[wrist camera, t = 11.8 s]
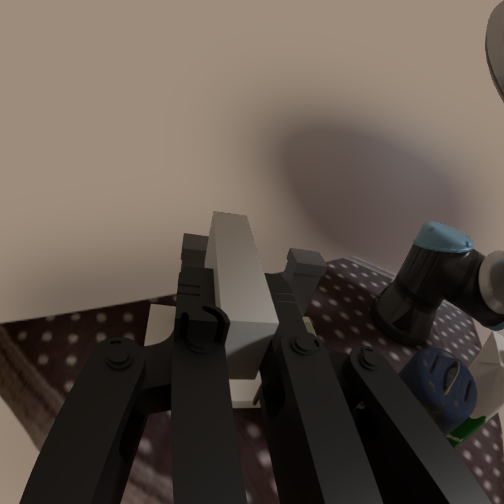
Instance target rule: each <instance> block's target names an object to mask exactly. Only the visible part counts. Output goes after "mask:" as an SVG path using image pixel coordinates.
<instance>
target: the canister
mask: <svg viewBox="0 0 504 504" xmlns="http://www.w3.org/2000/svg"><path fill="white" fill-rule="evenodd" d="M398 375H399V377H400V378H401V379H402V380H403V382H404V383H405V384H406V386H407V387H408V388H409V389H410V391H411V392H412V393H413V395H414V396H415V397H416V398H417V400H418V401H419V402H420V404H421V405H422V406H423V408H424V409H425V410H426V412H427V413H428V414H429V416H430V417H431V418H432V420H433V421H434V422H435V424H436V425H437V426H438V428H439V429H440V430H441V432H442V433H443V434H444V436H446V435H447V434H449V433H450V432H451V431H453V430H454V429H455V428H457V427H458V426H459V425H460V424H462V423H463V422H464V421H465V420H466V419H467V418H468V417H469V416H470V415H471V414H472V412H473V411H474V409H475V407H476V404H477V396H478V393H477V387H476V383H475V381H474V378H473V376H472V374H471V373H470V371H469V370H468V368H467V367H466V366H465V365H464V364H463V363H462V362H461V361H460V360H459V359H458V358H457V357H456V356H454V355H453V354H451V353H449V352H447V351H445V350H443V349H439V348H426V349H423V350H421V351H419V352H418V353H417V354H415V355H414V356H413V357H412V359H411V360H410V361H409V362H408V363H407V365H406V366H405V367H404V368H403V369H402V370H401V371H400V373H399V374H398Z"/></svg>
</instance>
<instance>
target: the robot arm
mask: <svg viewBox="0 0 504 504" xmlns="http://www.w3.org/2000/svg"><path fill="white" fill-rule="evenodd" d="M485 51H486V59H487V63H488V67H489V70H490V74H491V77H492V80H493V82H494V85H495V87H496V89H497V91H498V93H499V95H500V97H501V99H502V100H503V102H504V1H502V2H501V3H499V4H498V5H497V6H496V7H495V8H494V10H493V12H492V13H491V15H490V18H489V21H488V24H487V30H486V43H485ZM473 248H474V241H473V240H472V239H471V238H470V237H469V236H467V235H466V234H464V233H463V232H461V231H459V230H457V229H455V228H452V227H450V226H447V225H444V224H441V223H437V222H427V223H425V224H423V225H422V227H421V229H420V231H419V233H418V235H417V236H416V238H415V239H414V240H413V245H412V248H411V250H410V251H409V253H408V255H407V257H406V259H405V261H404V263H403V265H402V267H401V269H400V270H399V272H398V274H397V276H396V278H395V280H394V281H393V282H392V283H391V284H390V285H389V286H388V287H387V288H385V289H384V290H383V291H382V292H381V293H380V294H379V295H378V296H377V297H376V298H375V300H374V302H373V303H372V305H371V308H370V312H371V316H372V318H373V320H374V322H375V323H376V325H377V326H378V327H379V328H380V329H381V330H382V331H383V332H384V333H385V334H386V335H387V336H389V337H390V338H392V339H393V340H395V341H397V342H399V343H402V344H405V345H410V346H416V345H420V344H422V343H423V342H424V341H425V339H426V338H427V336H428V335H429V333H430V331H431V327H432V324H433V321H434V318H435V315H436V312H437V309H438V307H439V306H440V304H441V302H442V301H443V300H444V299H445V300H447V301H448V302H450V303H451V304H453V305H454V306H456V307H457V308H459V309H460V310H462V311H463V312H465V313H466V314H468V315H469V316H471V317H472V318H474V319H475V320H477V321H478V322H479V323H480V324H481V325H483V326H484V327H486V328H489V329H491V330H493V331H499V330H502V329H504V251H494V252H492V253H490V254H489V255H488V256H486V257H485V256H484V255H482V254H481V253H479V252H478V251H476V250H474V249H473ZM258 372H260V377H261V384H260V386H259V388H258V391H257V393H256V395H255V397H254V399H253V405H256V404H257V402H258V401H260V407H261V412H262V417H263V422H264V427H265V432H266V437H267V442H268V447H269V452H270V457H271V462H272V467H273V472H274V477H275V482H276V486H277V491H278V496H279V500H280V504H492V503H491V502H490V500H489V499H488V497H487V496H486V494H485V493H484V491H483V490H482V488H481V487H480V485H479V484H478V482H477V481H476V479H475V478H474V476H473V475H472V474H471V472H470V471H469V469H468V468H467V466H466V465H465V464H464V462H463V461H462V459H461V458H460V456H459V455H458V454H457V452H456V451H455V449H454V448H453V447H452V445H451V444H450V443H449V441H448V440H447V438H446V437H445V436H444V434H443V433H442V432H441V430H440V429H439V428H438V426H437V425H436V424H435V422H434V421H433V420H432V418H431V417H430V416H429V414H428V413H427V412H426V410H425V409H424V408H423V406H422V405H421V404H420V402H419V401H418V400H417V398H416V397H415V396H414V395H413V393H412V392H411V391H410V389H409V388H408V387H407V386H406V384H405V383H404V382H403V380H402V379H401V378H400V377H399V375H398V374H397V373H396V371H395V370H394V369H393V368H392V366H391V365H390V364H389V363H388V361H387V360H386V359H385V358H384V356H383V355H382V354H381V353H380V352H378V351H377V350H375V349H374V348H372V347H369V346H365V345H362V346H357V347H355V348H353V349H352V351H351V352H350V354H349V355H348V354H344V353H340V352H336V351H331V350H328V349H326V348H325V347H324V345H323V343H322V342H321V340H320V339H319V338H318V337H316V336H315V335H314V334H312V333H310V332H308V331H307V329H306V326H305V323H304V321H303V318H302V316H301V313H300V311H299V308H298V305H297V303H296V300H295V298H294V295H293V293H292V290H291V288H290V285H289V283H288V282H287V281H286V280H285V279H284V278H283V277H282V276H281V275H279V274H269V273H264V272H263V268H262V265H261V262H260V258H259V255H258V252H257V248H256V245H255V242H254V238H253V235H252V232H251V228H250V225H249V222H248V219H247V216H245V215H238V214H231V213H224V212H216V211H214V212H213V217H212V223H211V228H210V234H209V239H208V245H207V251H206V257H205V268H202V267H193V266H185V267H184V268H183V270H182V271H181V272H180V273H179V279H178V289H177V300H176V312H175V322H174V330H173V332H172V333H171V335H170V336H169V337H168V338H167V339H166V340H164V341H162V342H160V343H157V344H153V345H148V346H141V347H140V346H139V345H138V343H137V342H135V341H133V340H131V339H129V338H125V337H119V336H118V337H110V338H107V339H105V340H103V341H101V342H100V343H99V344H98V345H97V346H96V347H95V349H94V350H93V352H92V354H91V355H90V357H89V359H88V361H87V362H86V364H85V366H84V368H83V369H82V371H81V373H80V375H79V376H78V378H77V380H76V382H75V384H74V385H73V387H72V389H71V391H70V393H69V395H68V396H67V398H66V400H65V402H64V404H63V406H62V408H61V410H60V412H59V414H58V416H57V418H56V420H55V422H54V424H53V426H52V428H51V430H50V432H49V434H48V436H47V438H46V440H45V443H44V445H43V447H42V449H41V451H40V454H39V456H38V458H37V460H36V463H35V465H34V468H33V470H32V472H31V475H30V477H29V480H28V482H27V485H26V487H25V490H24V492H23V495H22V498H21V501H20V503H19V504H120V503H121V500H122V496H123V493H124V490H125V487H126V483H127V480H128V477H129V474H130V470H131V467H132V464H133V461H134V458H135V455H136V452H137V449H138V446H139V443H140V440H141V437H142V434H143V431H144V428H145V425H146V422H147V419H148V416H149V414H154V413H159V412H164V411H168V410H171V453H172V479H173V496H174V504H247V499H246V493H245V487H244V481H243V475H242V469H241V462H240V456H239V449H238V443H237V436H236V429H235V422H234V414H233V407H232V399H231V392H230V384H229V379H232V380H255V379H256V376H257V374H258ZM361 401H363V402H364V404H365V405H366V407H364V406H361V404H360V402H361Z"/></svg>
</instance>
